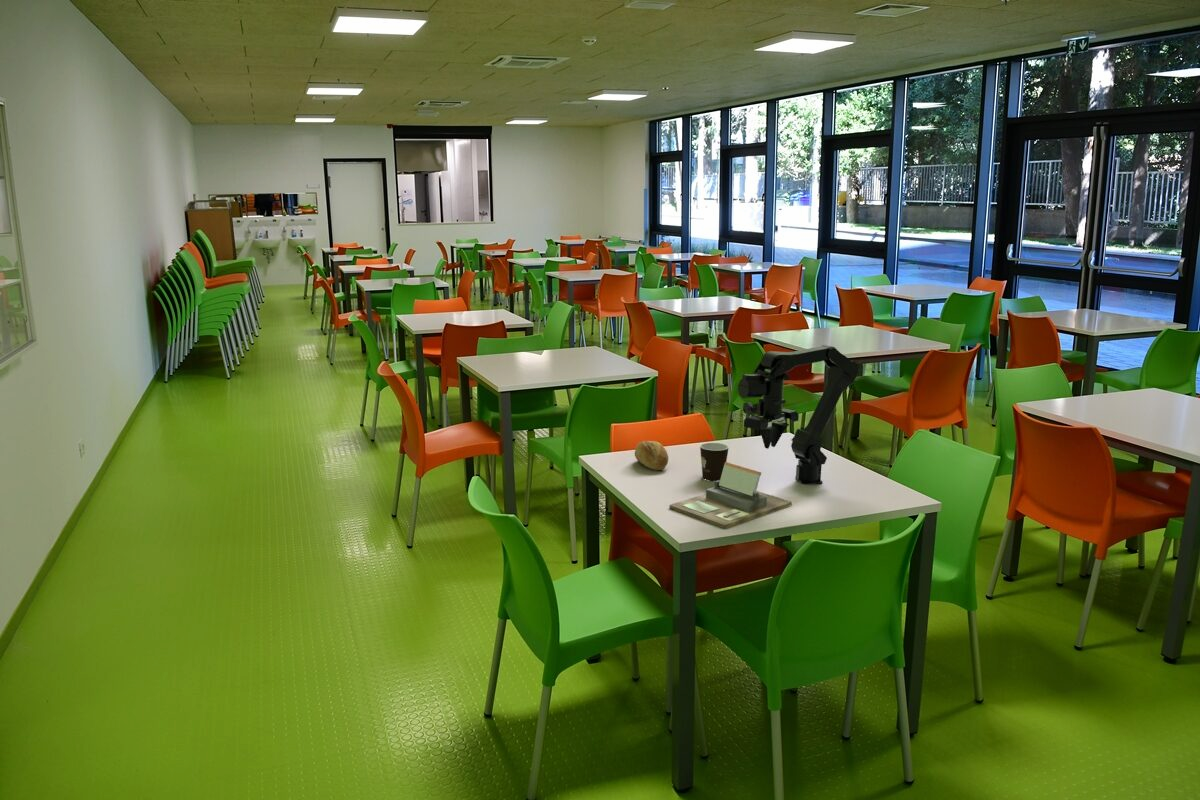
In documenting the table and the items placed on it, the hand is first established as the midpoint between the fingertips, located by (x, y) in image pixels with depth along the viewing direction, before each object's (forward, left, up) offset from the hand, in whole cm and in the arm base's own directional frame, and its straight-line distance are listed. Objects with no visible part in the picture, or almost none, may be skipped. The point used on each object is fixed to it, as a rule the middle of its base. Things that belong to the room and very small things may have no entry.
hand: (769, 447), depth 255 cm
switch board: (+16, +16, -12) cm, 25 cm away
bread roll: (+31, -24, -12) cm, 41 cm away
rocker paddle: (+14, +15, -8) cm, 22 cm away
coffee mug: (+14, -11, -12) cm, 22 cm away
